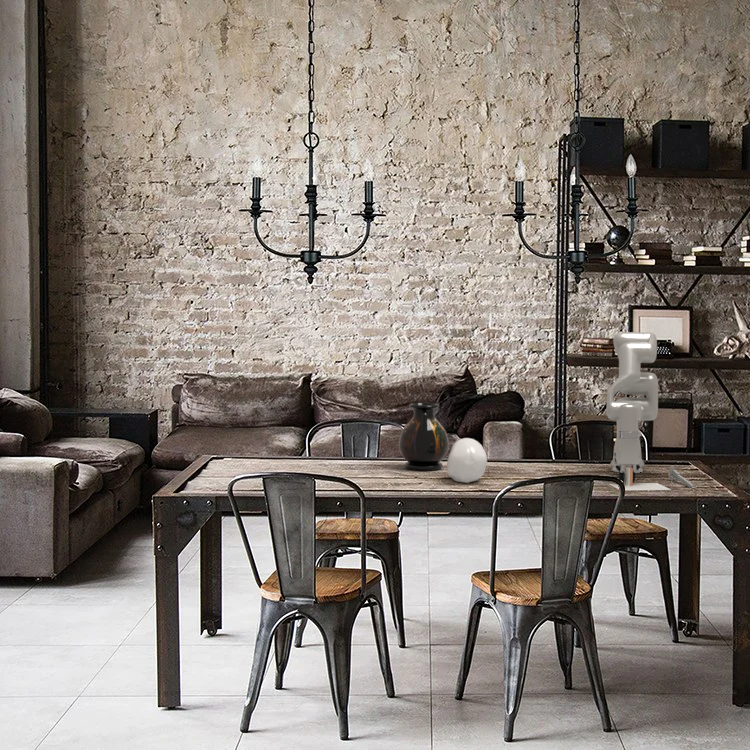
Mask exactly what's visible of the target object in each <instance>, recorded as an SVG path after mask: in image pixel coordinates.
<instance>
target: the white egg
mask: <svg viewBox="0 0 750 750" xmlns="http://www.w3.org/2000/svg"><path fill="white" fill-rule="evenodd" d="M446 463H447V464H446V465H447V469H446V470H447V474H448V476H449V477H450V478H451V479H453V480H454V481H455V482H457V483H466V484H469V483H472V482H473V483H474V482H475V481H478V480H479V479H481V478H482V477H483V476H484V474H485V472H486V468H487V463H488V456H487V453H486V451H485V449H484V447H483V445H482V444H481V443H480V442H479V441H478V440H476V439H475V438H470V437H463V438H459V439H458V440H457V441H455V442H454V443H453V444H452V445H451V449H450V452H449V454H448V457H447V462H446Z"/></svg>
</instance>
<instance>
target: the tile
mask: <svg viewBox="0 0 750 750" xmlns="http://www.w3.org/2000/svg"><path fill="white" fill-rule="evenodd" d="M623 471H624V473H625V476H624V484H625V485H627V486H632V485H633V468H631V467H629V466H627V465H624V470H623Z"/></svg>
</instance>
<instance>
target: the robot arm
mask: <svg viewBox="0 0 750 750" xmlns="http://www.w3.org/2000/svg"><path fill="white" fill-rule="evenodd" d="M612 341H613V346H614V347H613V348H614V350H615V352H616V354H617V358H618V378H617V379H616V380H615V381H614V382H613V383H612V384H611V386H610V387H609V389H608V390H607V391H608V392H607V395H606V410H605V411H606V416H607V419H609V420H611V421H616V438H615V441H614V448H613V455H612V460H611V462H610V466H612V471H613V472H614V473H618V480H619V479H620V480H622V481H623V483H624V476H625V473H624V471H623V470H624V465H627V466H629V467H631V468H633V483H635V481H636V474H641V473H643V468H642V467H643V466H645V462H644V460H643V459H642V448H641V441H640V437H642V432H641V431H640V428H639V421H650V422H651V421H655V420H656V419H657V417H658V413H659V409H658V408H659V380H658V376H657V375H656V373H653V372H647V371H646V372H644V371H641V364H652V363H654V362H655V361H656V360H657V355H658V353H657V352H658V350H657V349H658V340H657V337H656V334H655V333H653V332H647V331H646V332H643V331H642V332H640V331H639V332H637V331H631V332H630V331H629V332H628V331H625V332H624V331H623V332H618V333H615V334H614V335H613V340H612ZM619 391H620V393H621V394H624V395H639V396H642V395H643V396H646V397H628V396H627V397H620V398H618V399H617V400H616V401H615V395H616V394H617V393H618V392H619ZM640 472H641V473H640ZM620 480H619V481H620Z"/></svg>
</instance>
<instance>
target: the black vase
mask: <svg viewBox="0 0 750 750" xmlns="http://www.w3.org/2000/svg"><path fill="white" fill-rule="evenodd" d="M408 406H409V408H411V409H412V410H413V416H412V418H411V419H410V420H409V421H408V422H407V424H406V425H405V426H404V427H403V429H402V430H401V432H400V436H399V440H398V449H399V453H400V455H401V456H402V457H403V459H404V460H405V461H406V462H405V463H404V468H406V469H407V470H411V471H417V472H418V471H419V472H421V471H422V472H424V471H425V472H426V471H428V472H429V471H430V472H431V471H438V470H440V469H442V468H443V465H444V464H443V463H442V461H443V460H444V458H446V455H447V454H448V452H449V448H450V447H449V445H450V443H449V437H448V434H447V431H446V429H445V428H444V426H443V425H442V424H441V422H439V420H438V419H437V417H436V416H435V409H438V408H439V407H440V405H439V404H438V403H433V402H413V403H410V404H408Z"/></svg>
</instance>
